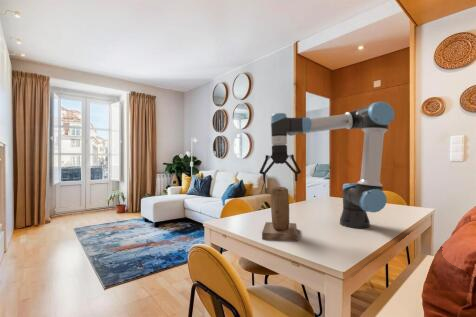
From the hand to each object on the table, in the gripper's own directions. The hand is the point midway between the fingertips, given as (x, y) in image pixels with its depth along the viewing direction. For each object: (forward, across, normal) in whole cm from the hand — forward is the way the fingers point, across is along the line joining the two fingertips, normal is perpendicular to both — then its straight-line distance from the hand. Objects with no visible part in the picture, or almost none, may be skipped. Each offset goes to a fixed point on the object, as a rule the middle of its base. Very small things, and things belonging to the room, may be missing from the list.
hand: (280, 187), depth 123 cm
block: (+20, -1, 0) cm, 20 cm away
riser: (+23, -1, 0) cm, 23 cm away
